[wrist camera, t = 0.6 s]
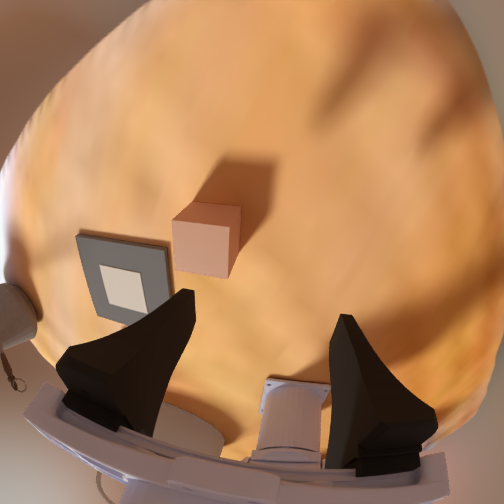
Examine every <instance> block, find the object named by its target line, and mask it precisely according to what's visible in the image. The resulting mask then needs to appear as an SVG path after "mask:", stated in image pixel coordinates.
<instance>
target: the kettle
mask: <svg viewBox="0 0 504 504" xmlns="http://www.w3.org/2000/svg"><path fill="white" fill-rule="evenodd" d="M152 438H154V439H157V440H160V441H163V442H166V443H169V444H172V445H175V446H179V447H182V448H185V449H189V450H193V451H196V452H200V453H204V454H208V455H213V456H217V457H220V455H221V452H222V449H223V445H224V443H225V439H224V436H223V435H222V434H221V433H220V431H218V430H217V429H216V428H215V427H214V426H212V425H211V424H209V423H208V422H206V421H204V420H203V419H201V418H199V417H197V416H195V415H193V414H191V413H189V412H187V411H185V410H183V409H180V408H178V407H176V406H173V405H170V404H168V403H165V402H162V404H161V407H160V411H159V414H158V418H157V421H156V425H155V429H154V433H153V437H152ZM101 474H102V472H100V471H98V472H97V476H96V483H97V487H98V490H99V492H100V494H101V495H102V497H103V498H104V499H105V500H106V501H107V502H108V503H109V504H115V503H113V502H112V501H111V500H110V499H109V498H108V497H107V496H106V495H105V493H104V491H103V489H102V487H101Z"/></svg>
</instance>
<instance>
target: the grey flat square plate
mask: <svg viewBox="0 0 504 504" xmlns="http://www.w3.org/2000/svg"><path fill="white" fill-rule="evenodd" d="M75 237H76V242H77V246H78V251H79V255H80V259H81V263H82V267H83V270H84V274H85V278H86V281H87V285H88V288H89V291H90V295H91V298H92V301H93V304H94V307H95V310H96V313H97V316H100V317H103V318H106V319H109V320H113V321H116V322H119V323H122V324H126V325H129V326H130V325H132V324H133V323H135V322H137V321H139V320H140V319H142V318H143V317H145V316H146V315H148V314H149V313H151V312H152V311H154V310H155V309H156V308H158V307H159V306H160V305H162V304H163V303H164V302H166V301H167V300H168V299H170V298H171V297H172V292H171V283H170V274H169V264H168V253H167V247H160V246H154V245H147V244H141V243H135V242H128V241H122V240H115V239H109V238H103V237H96V236H90V235H84V234H77V235H76V236H75Z"/></svg>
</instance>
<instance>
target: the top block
mask: <svg viewBox="0 0 504 504" xmlns="http://www.w3.org/2000/svg"><path fill="white" fill-rule="evenodd" d="M241 208H242V207H239V206H230V205H221V204H211V203H202V202H191V203H190V204H189V205H188V206H187V207H186V208H184V209H183V210H182V211H181V212H180V213H179V214H178V215H177V216H176V217H175V218H174V219H173V220H172V232H173V247H174V260H175V270H177V271H182V272H188V273H194V274H200V275H206V276H212V277H218V278H224V279H228V277H229V275H230V273H231V270H232V268H233V265H234V263H235V261H236V258H237V256H238V254H239V242H240V225H241Z"/></svg>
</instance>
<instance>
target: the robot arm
mask: <svg viewBox="0 0 504 504" xmlns="http://www.w3.org/2000/svg"><path fill="white" fill-rule="evenodd" d="M195 322H196V312H195V293H194V290H189V289H184V288H183V289H181V290H180V291H179V292H177V293H176V294H175V295H173V296H172V297H171V298H170V299H168V300H167V301H166V302H164V303H163V304H162V305H160V306H159V307H158V308H156V309H155V310H154V311H152V312H151V313H149V314H148V315H146V316H145V317H143V318H142V319H140V320H139V321H137V322H135V323H133V324H132V325H130V326H128V327H126V328H124V329H122V330H120V331H117V332H115V333H113V334H110V335H108V336H106V337H103V338H100V339H97V340H94V341H91V342H87V343H83V344H79V345H74V346H70V347H69V348H68V349H67V350H66V352H65V353H64V354H63V356H62V357H61V358H60V359H59V361H58V362H57V363H56V370H57V372H58V374H59V376H60V378H61V379H62V381H63V382H64V384H65V385H66V386H67V388H68V389H69V390H68V391H67V393H66V394H65V393H64V392H63V391H62V390H60V389H59V388H57V387H56V386H54V385H52V384H51V383H49V382H47V381H45V382H44V384H43V385H42V386H41V388H40V389H39V391H38V392H37V394H36V395H35V397H34V398H33V400H32V401H31V403H30V404H29V406H28V407H27V409H26V410H25V412H24V413H23V417H25V419H26V420H27V421H29V423H30V424H32V425H33V426H34V427H35V428H36V429H37V430H38V431H39V432H40V433H42V435H43V436H45V437H46V438H47V439H48V440H50V441H51V442H53V443H54V444H56V445H57V446H59V447H60V448H62V449H63V450H65V451H66V452H68V453H69V454H71V455H73V456H74V457H76V458H77V459H79V460H81V461H82V462H84V463H86V464H87V465H89V466H91V467H93V468H94V469H96V470H98V471H100V472H102V473H103V474H106V475H107V476H109V477H111V478H113V479H115V480H117V481H119V482H121V483H123V484H126V487H125V489H124V492H123V494H122V497H121V499H120V502H119V504H431V503H433V502H435V501H438V500H440V499H442V498H445V497H447V496H449V494H450V489H449V480H448V472H447V465H446V458H445V453H444V452H440V453H435V454H430V455H426V456H423V457H421V458H420V456H419V452H421V451H422V445H421V444H422V443H423V442H425V441H426V440H427V439H428V438H430V437H431V436H432V435H433V434H434V433H435V432H436V431H437V429H438V422H437V418H436V414H435V410H434V409H433V408H432V407H430V406H429V405H427V404H426V403H424V402H423V401H421V400H420V399H419V398H417V397H416V396H415V395H414V394H413V393H411V392H410V391H409V390H408V389H407V388H406V387H405V386H404V385H403V384H402V383H401V382H399V381H398V380H397V379H396V377H395V376H394V375H393V374H392V373H391V372H390V371H389V370H388V368H387V367H386V366H385V365H384V364H383V362H382V361H381V360H380V358H379V357H378V355H377V354H376V353H375V351H374V350H373V348H372V347H371V345H370V344H369V342H368V340H367V339H366V337H365V336H364V334H363V332H362V331H361V329H360V327H359V326H358V324H357V322H356V320H355V319H354V317H353V316H352V315H348V314H340V316H339V319H338V322H337V324H336V327H335V330H334V332H333V335H332V338H331V340H330V345H329V367H330V380H331V385H329V384H318V383H307V382H298V381H289V380H281V379H274V378H267V379H266V381H265V386H264V390H263V395H262V400H261V405H260V409H259V414H261V415H262V420H261V426H260V432H259V437H258V443H257V448H256V450H252V454H251V457H245V458H244V459H243V460H242V461H237V460H231V459H226V458H222V457H217V456H213V455H208V454H204V453H200V452H196V451H193V450H189V449H185V448H182V447H179V446H175V445H172V444H169V443H166V442H163V441H160V440H157V439H154V438H152V437H153V433H154V429H155V425H156V421H157V418H158V414H159V411H160V407H161V404H162V401H163V398H164V395H165V392H166V389H167V386H168V383H169V380H170V378H171V375H172V373H173V371H174V369H175V367H176V365H177V363H178V361H179V359H180V357H181V355H182V353H183V351H184V349H185V347H186V345H187V343H188V341H189V339H190V337H191V334H192V331H193V328H194V325H195ZM330 390H331V393H332V412H331V425H330V435H329V443H328V450H327V456H326V459H322V461H321V452H320V435H321V406H322V404H323V402H324V401H325V399H326V397H327V395H328V393H329V392H330Z"/></svg>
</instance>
